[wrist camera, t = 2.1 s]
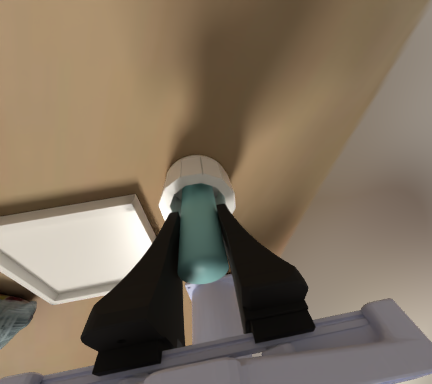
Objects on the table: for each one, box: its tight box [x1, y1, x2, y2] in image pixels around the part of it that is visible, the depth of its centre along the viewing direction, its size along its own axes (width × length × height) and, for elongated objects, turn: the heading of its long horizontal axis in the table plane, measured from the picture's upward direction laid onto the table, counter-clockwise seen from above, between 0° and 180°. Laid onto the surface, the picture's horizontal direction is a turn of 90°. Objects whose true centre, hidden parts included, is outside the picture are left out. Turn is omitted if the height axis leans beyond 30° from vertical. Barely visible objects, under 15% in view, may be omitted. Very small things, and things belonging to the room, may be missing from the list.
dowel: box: [177, 183, 229, 284], centre depth 13 cm, size 3×3×8 cm
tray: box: [0, 194, 156, 305], centre depth 20 cm, size 14×16×2 cm
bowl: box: [159, 155, 236, 221], centre depth 15 cm, size 6×6×4 cm
